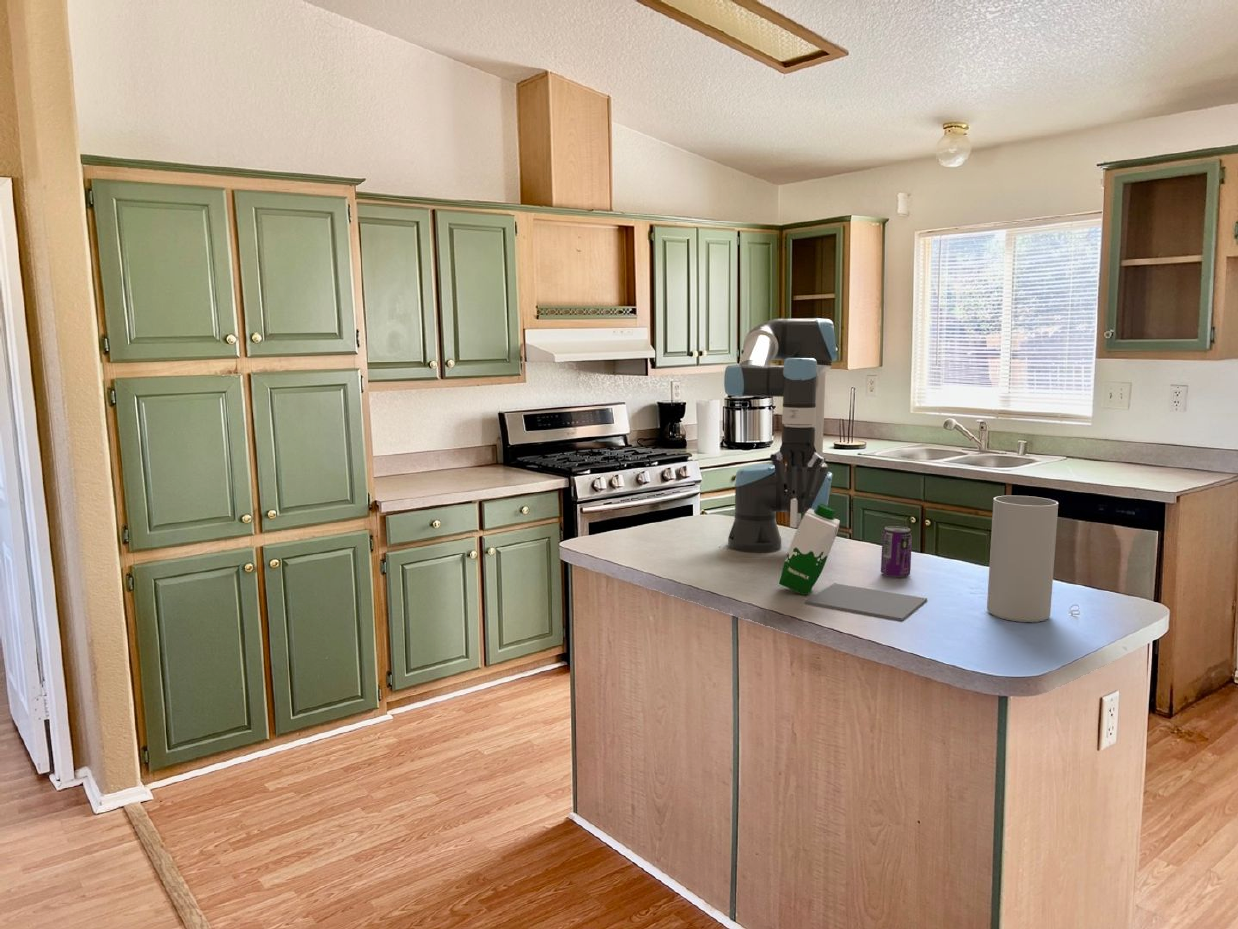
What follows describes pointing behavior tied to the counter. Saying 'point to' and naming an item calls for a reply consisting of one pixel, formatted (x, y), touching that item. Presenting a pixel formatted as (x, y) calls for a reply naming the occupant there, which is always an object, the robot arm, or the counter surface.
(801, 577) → the soya milk
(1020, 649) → the counter surface
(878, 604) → the mat
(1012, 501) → the cylinder vase
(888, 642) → the counter surface
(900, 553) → the beverage can
